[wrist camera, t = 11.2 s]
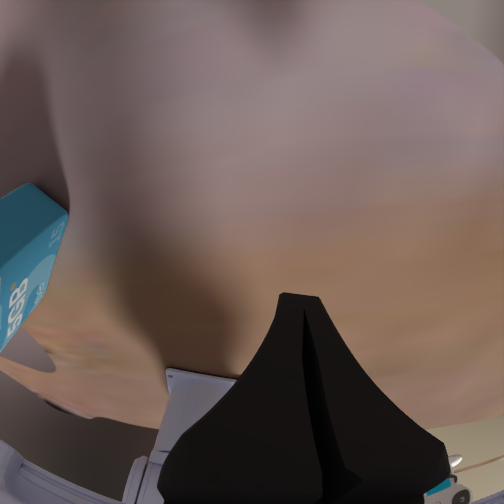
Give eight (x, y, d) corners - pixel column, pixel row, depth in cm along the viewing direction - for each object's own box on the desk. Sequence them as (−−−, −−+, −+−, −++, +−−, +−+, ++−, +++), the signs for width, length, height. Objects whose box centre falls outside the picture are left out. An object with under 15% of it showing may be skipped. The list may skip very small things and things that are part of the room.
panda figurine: (459, 448, 39) (473, 516, 26) (468, 458, 42) (480, 516, 29) (402, 473, 43) (410, 539, 30) (419, 480, 47) (426, 536, 34)
